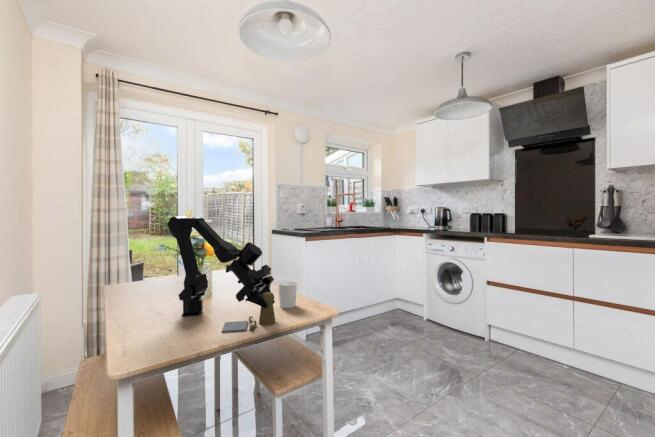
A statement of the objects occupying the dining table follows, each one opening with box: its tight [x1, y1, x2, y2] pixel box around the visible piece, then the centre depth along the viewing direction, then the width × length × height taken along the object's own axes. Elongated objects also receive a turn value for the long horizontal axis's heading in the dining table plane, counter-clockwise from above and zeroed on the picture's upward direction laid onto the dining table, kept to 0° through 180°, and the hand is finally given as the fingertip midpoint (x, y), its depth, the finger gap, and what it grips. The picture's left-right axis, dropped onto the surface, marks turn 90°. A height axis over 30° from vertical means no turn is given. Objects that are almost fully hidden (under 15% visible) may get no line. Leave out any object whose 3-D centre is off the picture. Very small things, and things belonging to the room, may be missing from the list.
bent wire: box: [248, 315, 257, 332], centre depth 108 cm, size 3×10×2 cm, turn 11°
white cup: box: [277, 280, 298, 309], centre depth 130 cm, size 8×8×10 cm
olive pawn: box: [258, 291, 276, 327], centre depth 111 cm, size 6×6×11 cm
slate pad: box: [221, 320, 249, 334], centre depth 107 cm, size 8×8×1 cm
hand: (270, 305), depth 110 cm, fingers closed on olive pawn, 5 cm apart
